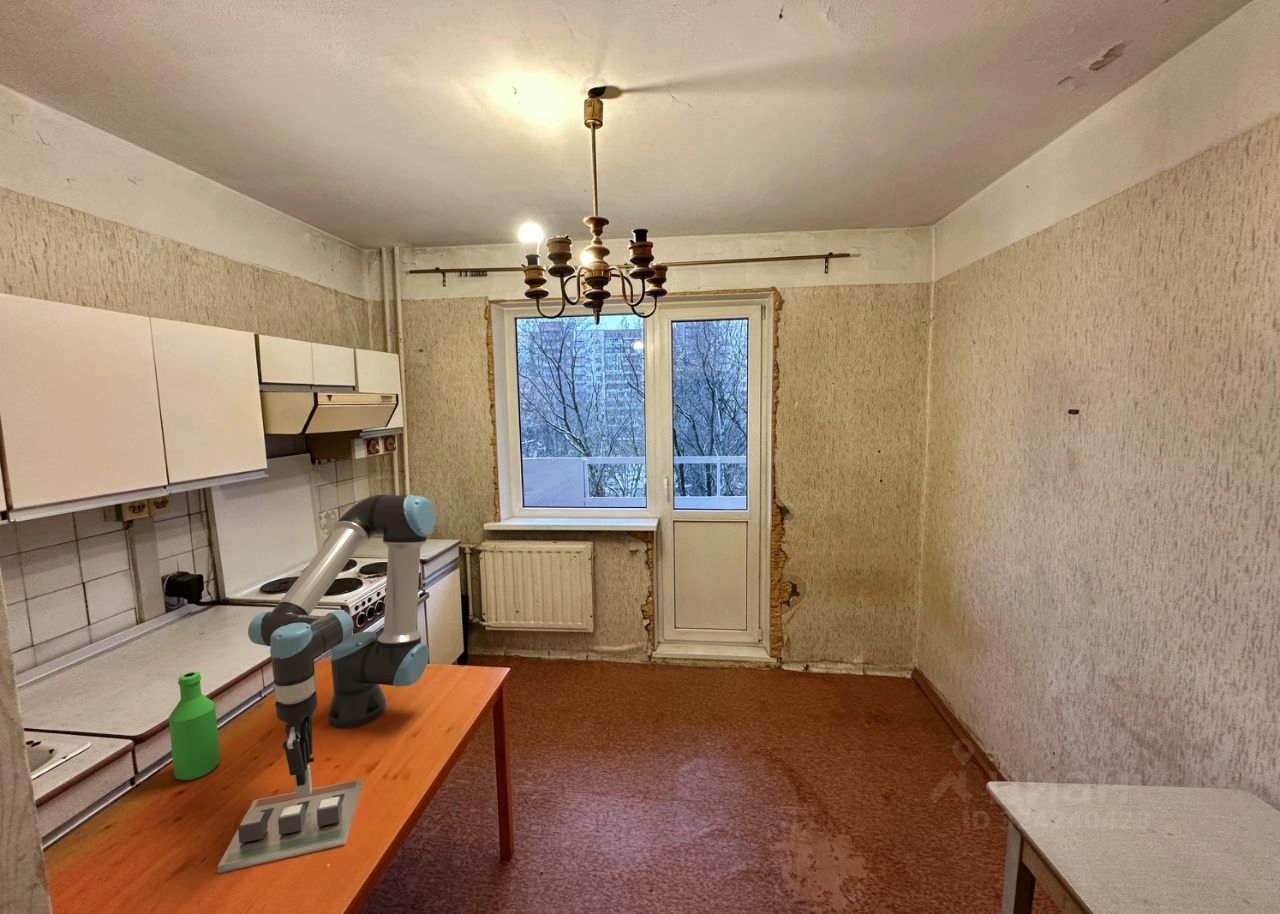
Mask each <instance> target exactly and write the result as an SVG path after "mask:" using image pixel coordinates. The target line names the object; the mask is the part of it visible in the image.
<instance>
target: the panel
mask: <svg viewBox="0 0 1280 914" xmlns="http://www.w3.org/2000/svg"><path fill="white" fill-rule="evenodd" d="M362 786H363V779H362V778H361V779H355V780H349V781H345V782H339V783H334V784H330V785H325V786H318V787H315V788H313V787H312V792H311V794H310V795H308V796H303V797H298V798H296V791H294V792H293V791H292V792H289V793H282V794H277V795H273V796H267V797H263V798H256V799H253V802H252V803H251V804H250V807H249V808H248V810H247V812H246V814H245V815H250V814H255V813H260V812H267V824H268V828H267V830H266V832H265V834H264V836H263V838H262V839H258V840H253V841H248V842H244V843H239V833H238V829H237V830H236V832H235V833H234V835H233V837H232V839H231V841H230V842H229V844H228V847H227V848H226V850H225V852H224V854H223V856H222V857H221V860H220V862H219V863H218V865H217V874H222V873H225V872H230V871H234V870H238V869H243V868H248V867H253V866H257V865H260V864H265V863H270V862H275V861H278V860H283V859H287V858H291V857H297V856H301V855H302V856H303V855H305V854H309V853H313V852H314V853H315V852H319V851H325V850H327V849H332V848H336V847H341V846H346V842H347V840H348V836H349V832H350V830H351V825H352V823H353V818H354V815H355V811H356V808H357V805H358V801H359V798H360V794H361V791H362ZM334 797H341V799H342V814H341V817H340V820H339V822H337V823H332V824H328V825H323V826H318V823H317V809H318V807H319V804H320V801H321V800H324V799H329V798H334ZM301 804H302V805H305V818H306V820H305V822H304V825H303V827H302V830H301V831H296V832H291V833H287V834H282V835H279V826H278V819H279V816H280V814H281V812H282V810H283V809H284V808H286V807H291V806H296V805H301Z"/></svg>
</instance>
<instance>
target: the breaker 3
mask: <svg viewBox="0 0 1280 914" xmlns="http://www.w3.org/2000/svg"><path fill="white" fill-rule="evenodd" d="M341 814H342V799H341V797H334V798H329V799H324V800H321V801H320V804H319V807H318V809H317V823H318V826H323V825H328V824H332V823H337V822H339V820H340V817H341Z"/></svg>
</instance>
